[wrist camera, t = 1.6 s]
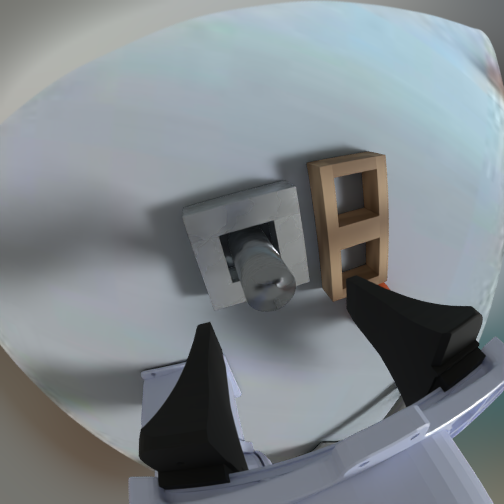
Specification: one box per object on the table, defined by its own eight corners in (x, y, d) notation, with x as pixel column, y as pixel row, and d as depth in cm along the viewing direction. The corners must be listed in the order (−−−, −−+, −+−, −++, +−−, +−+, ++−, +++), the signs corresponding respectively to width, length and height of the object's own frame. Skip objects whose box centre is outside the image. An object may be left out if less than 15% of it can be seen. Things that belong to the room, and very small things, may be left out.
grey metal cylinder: (232, 261, 23) (251, 317, 16) (223, 228, 22) (239, 276, 15) (267, 251, 23) (298, 302, 17) (260, 218, 22) (292, 260, 15)
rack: (373, 269, 27) (386, 280, 24) (322, 288, 26) (333, 301, 24) (368, 151, 21) (385, 155, 19) (306, 162, 21) (319, 167, 19)
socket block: (212, 294, 24) (214, 310, 22) (183, 207, 20) (182, 217, 18) (299, 268, 25) (309, 281, 22) (284, 180, 21) (295, 186, 19)
